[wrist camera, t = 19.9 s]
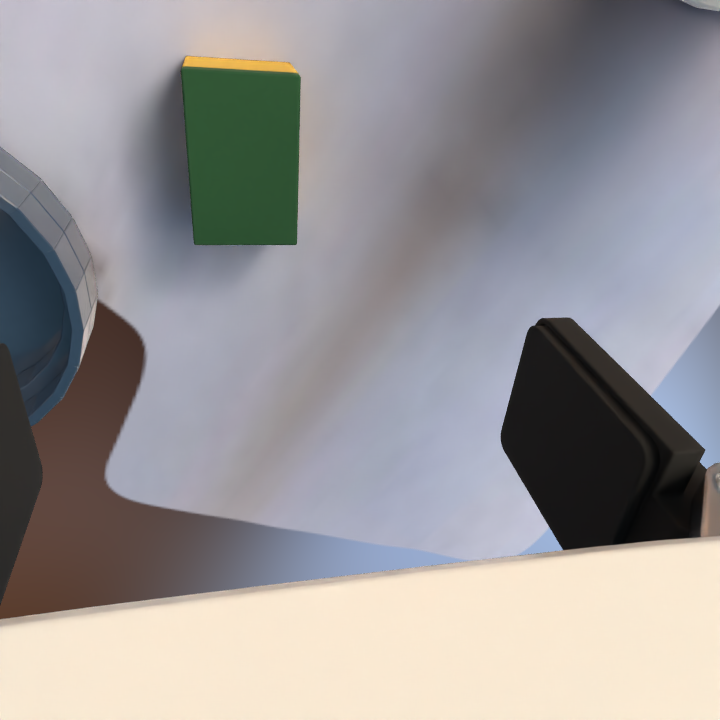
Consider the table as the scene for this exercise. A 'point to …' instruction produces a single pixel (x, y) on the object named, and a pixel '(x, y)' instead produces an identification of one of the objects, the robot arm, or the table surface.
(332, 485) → the table surface
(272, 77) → the sponge
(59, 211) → the bowl
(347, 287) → the table surface
